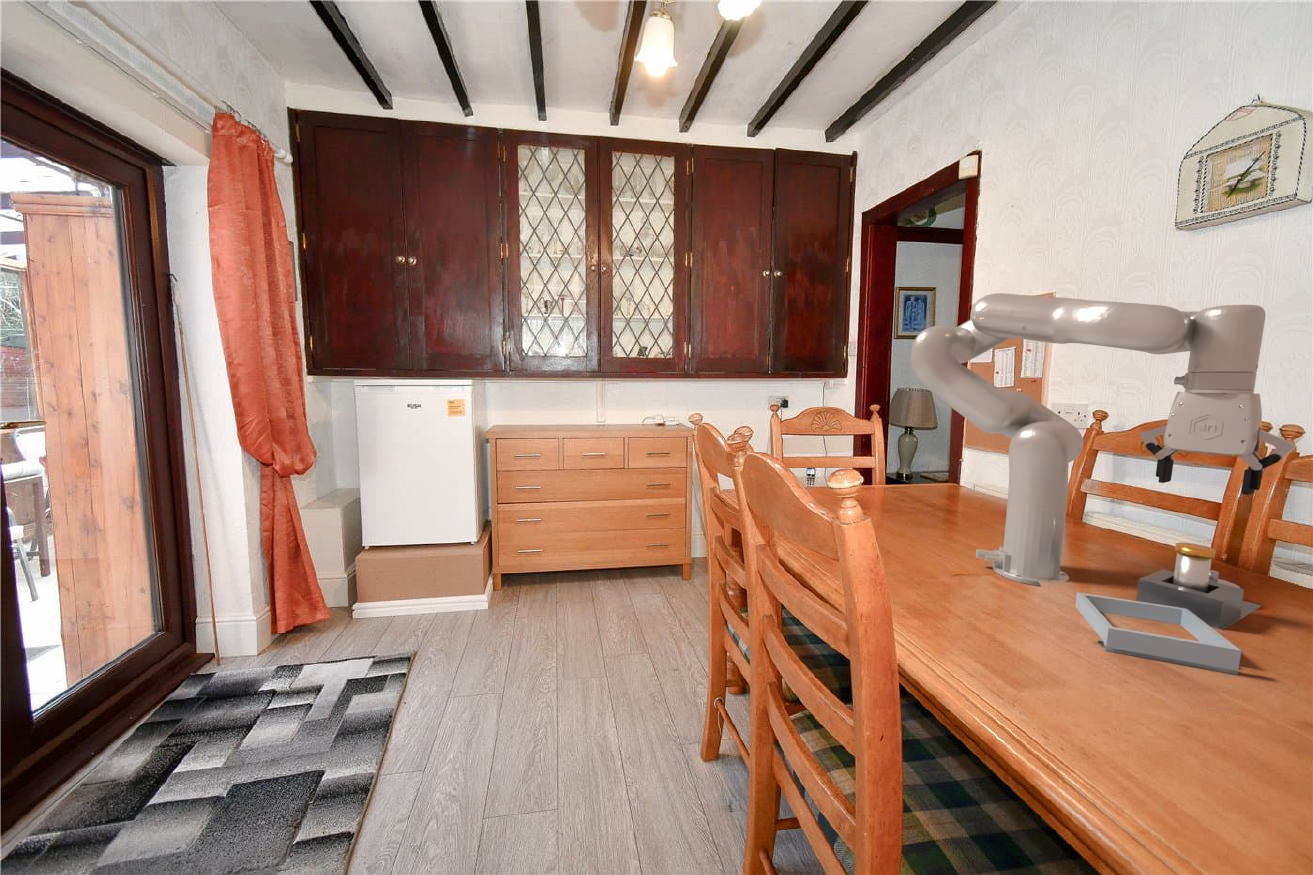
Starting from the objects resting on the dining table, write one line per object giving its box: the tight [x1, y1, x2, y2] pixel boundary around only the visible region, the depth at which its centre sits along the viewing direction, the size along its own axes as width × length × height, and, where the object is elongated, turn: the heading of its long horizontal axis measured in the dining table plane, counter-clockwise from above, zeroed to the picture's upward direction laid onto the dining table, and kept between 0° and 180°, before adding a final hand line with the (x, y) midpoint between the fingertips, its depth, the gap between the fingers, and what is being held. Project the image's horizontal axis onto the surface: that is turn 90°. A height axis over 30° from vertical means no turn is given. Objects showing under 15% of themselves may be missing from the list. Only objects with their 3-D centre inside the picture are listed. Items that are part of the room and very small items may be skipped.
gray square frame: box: [1074, 591, 1242, 676], centre depth 77 cm, size 14×14×4 cm
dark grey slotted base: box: [1135, 568, 1262, 631], centre depth 88 cm, size 19×11×6 cm, turn 118°
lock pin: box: [1173, 542, 1217, 593], centre depth 85 cm, size 5×5×11 cm
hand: (1203, 487), depth 84 cm, fingers open, 9 cm apart
